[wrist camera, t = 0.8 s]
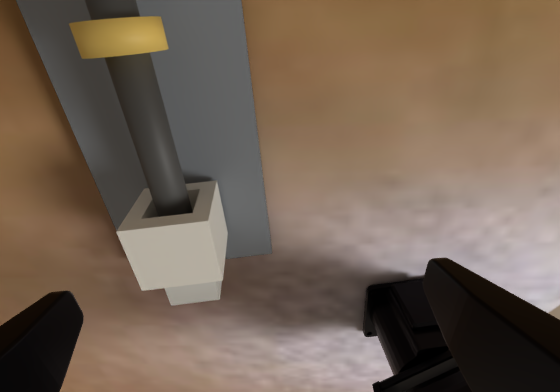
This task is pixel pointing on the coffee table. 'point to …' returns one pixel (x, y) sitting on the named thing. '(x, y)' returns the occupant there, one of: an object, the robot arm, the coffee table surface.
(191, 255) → the sleeve
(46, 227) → the coffee table surface
